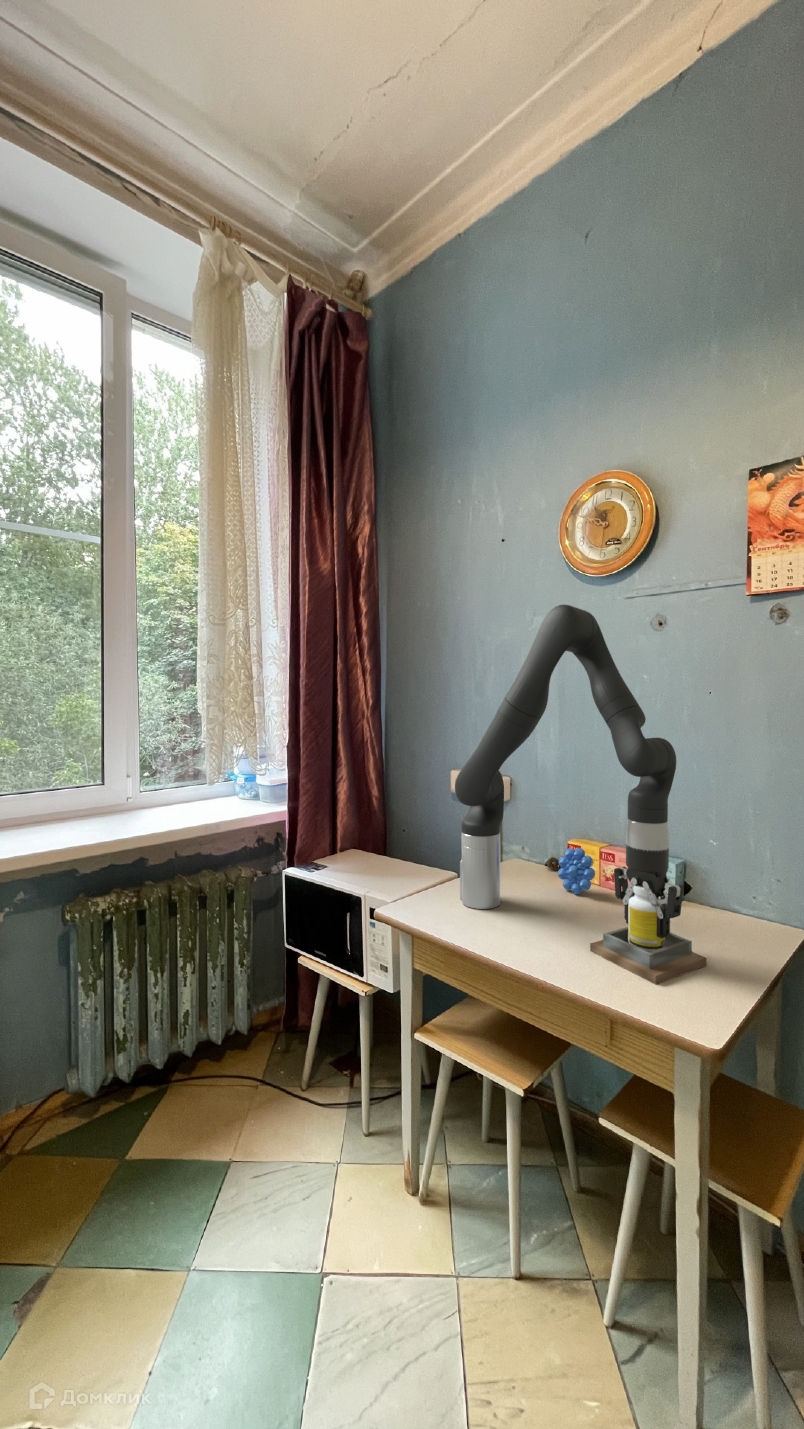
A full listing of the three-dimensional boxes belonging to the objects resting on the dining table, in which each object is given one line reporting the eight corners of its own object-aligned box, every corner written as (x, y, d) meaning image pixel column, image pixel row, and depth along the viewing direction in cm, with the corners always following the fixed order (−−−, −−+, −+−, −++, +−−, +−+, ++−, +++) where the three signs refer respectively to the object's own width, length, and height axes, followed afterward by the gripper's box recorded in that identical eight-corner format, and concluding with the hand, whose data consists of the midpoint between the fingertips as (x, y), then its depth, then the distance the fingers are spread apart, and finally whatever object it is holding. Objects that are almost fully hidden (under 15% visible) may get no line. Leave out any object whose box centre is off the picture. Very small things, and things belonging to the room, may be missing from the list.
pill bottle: (661, 956, 108) (662, 894, 107) (624, 948, 111) (625, 887, 111) (667, 943, 113) (667, 883, 113) (631, 936, 117) (632, 878, 116)
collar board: (590, 950, 115) (590, 930, 115) (639, 936, 122) (639, 917, 122) (655, 984, 102) (655, 961, 102) (706, 965, 109) (706, 944, 109)
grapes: (606, 897, 144) (606, 849, 144) (587, 903, 141) (587, 853, 141) (570, 884, 155) (571, 839, 154) (551, 889, 151) (552, 842, 151)
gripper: (694, 849, 107) (693, 939, 107) (629, 832, 119) (629, 913, 120) (667, 855, 103) (665, 948, 104) (603, 837, 116) (602, 920, 117)
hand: (646, 929), depth 112 cm, fingers closed on pill bottle, 6 cm apart
